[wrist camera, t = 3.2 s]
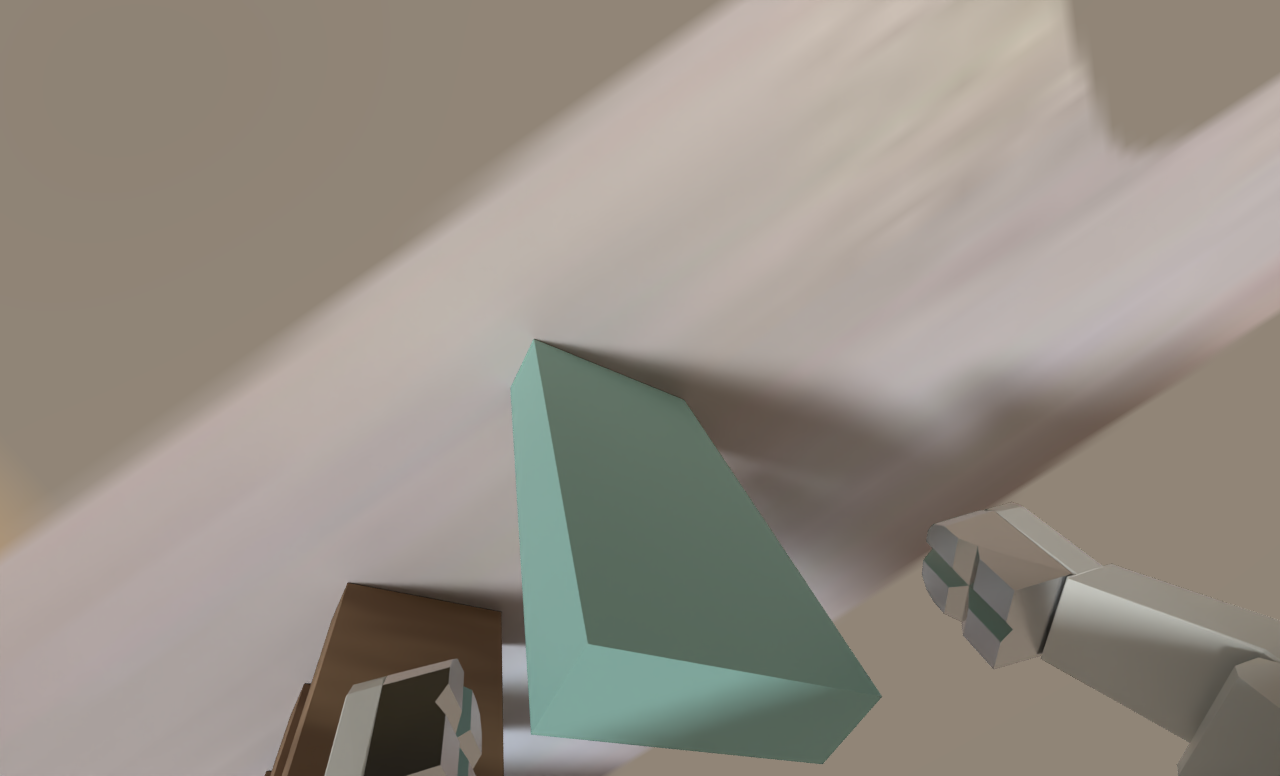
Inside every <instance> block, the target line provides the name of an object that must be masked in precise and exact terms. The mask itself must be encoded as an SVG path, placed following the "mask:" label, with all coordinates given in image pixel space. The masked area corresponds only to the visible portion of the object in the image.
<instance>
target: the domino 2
mask: <svg viewBox="0 0 1280 776" xmlns="http://www.w3.org/2000/svg"><path fill="white" fill-rule="evenodd" d="M511 405H512V422H513V438H514V455H515V472H516V489H517V506H518V522H519V539H520V556H521V573H522V590H523V606H524V623H525V640H526V657H527V674H528V690H529V707H530V724H531V734H532V735H542V736H551V737H561V738H571V739H581V740H591V741H600V742H610V743H620V744H630V745H640V746H649V747H659V748H669V749H679V750H690V751H699V752H708V753H718V754H728V755H738V756H748V757H758V758H767V759H777V760H787V761H797V762H806V763H816V764H823V763H824V762H825V761H826V760H827V759H828V757H829V756H830V755H831V754H832V753H833V752H834V751H835V749H836V748H837V747H838V746H839V745H840V744H841V743H842V742H843V740H844V739H845V738H846V737H847V736H848V735H849V734H850V733H851V731H852V730H853V729H854V728H855V727H856V726H857V724H858V723H859V722H860V721H861V720H862V719H863V717H865V715H866V714H867V713H868V712H869V711H870V710H871V708H873V706H874V705H875V704H876V703H877V702H878V701H879V700H880V698H881V697H882V696H881V695H880V693H879V691H878V690H877V688H876V687H875V685H874V684H873V682H872V681H871V679H870V678H869V676H868V675H867V673H866V672H865V670H864V669H863V667H862V666H861V664H860V663H859V661H858V660H857V658H856V657H855V655H854V654H853V652H852V651H851V649H850V648H849V646H848V645H847V644H846V642H845V640H844V639H843V637H842V636H841V634H840V633H839V632H838V630H837V628H836V627H835V625H834V624H833V622H832V621H831V619H830V618H829V616H828V615H827V613H826V612H825V610H824V609H823V607H822V606H821V604H820V603H819V601H818V600H817V598H816V597H815V595H814V594H813V592H812V591H811V589H810V588H809V586H808V585H807V583H806V582H805V580H804V579H803V577H802V576H801V574H800V573H799V571H798V570H797V568H796V567H795V565H794V564H793V562H792V561H791V559H790V558H789V556H788V555H787V553H786V552H785V550H784V549H783V547H782V546H781V544H780V543H779V541H778V540H777V538H776V537H775V535H774V534H773V532H772V531H771V529H770V528H769V526H768V525H767V523H766V522H765V520H764V519H763V517H762V516H761V514H760V513H759V511H758V510H757V508H756V507H755V505H754V504H753V502H752V501H751V499H750V498H749V496H748V495H747V493H746V492H745V490H744V489H743V487H742V486H741V484H740V483H739V481H738V480H737V478H736V477H735V475H734V474H733V472H732V471H731V469H730V468H729V467H728V465H727V464H726V462H725V461H724V459H723V458H722V456H721V455H720V453H719V452H718V450H717V449H716V447H715V446H714V444H713V443H712V441H711V440H710V438H709V437H708V435H707V434H706V432H705V431H704V429H703V428H702V426H701V425H700V423H699V422H698V420H697V419H696V417H695V416H694V414H693V413H692V411H691V410H690V408H689V407H688V405H687V404H686V402H685V401H684V400H683V399H681V398H678V397H676V396H673V395H671V394H668V393H666V392H663V391H661V390H658V389H656V388H653V387H651V386H648V385H646V384H644V383H641V382H639V381H636V380H634V379H631V378H629V377H626V376H624V375H621V374H619V373H616V372H614V371H611V370H609V369H607V368H604V367H602V366H599V365H597V364H594V363H592V362H589V361H587V360H584V359H582V358H579V357H577V356H574V355H572V354H570V353H567V352H565V351H562V350H560V349H557V348H555V347H552V346H550V345H547V344H545V343H542V342H540V341H537V340H535V339H534V340H533V342H532V344H531V346H530V348H529V350H528V352H527V354H526V357H525V359H524V361H523V363H522V365H521V367H520V369H519V371H518V373H517V375H516V377H515V380H514V382H513V384H512V386H511Z"/></svg>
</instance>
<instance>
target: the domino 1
mask: <svg viewBox="0 0 1280 776" xmlns="http://www.w3.org/2000/svg"><path fill="white" fill-rule="evenodd" d="M451 659H458V661H459V663H460V665H461V667H462V669H463V671H464V684H463V686H464V687H466V688H469V689H471V690H472V691H473V693H474V696H475V698H476V701H477V705H478V709H479V713H480V721H481V731H482V755H481V756H480V758H479V760H478V761H477V763H476V765H475V766H474V768H473V771H474V773H475V775H476V776H504V762H503V695H502V628H501V612H498V611H493V610H488V609H483V608H477V607H472V606H467V605H462V604H456V603H451V602H446V601H441V600H435V599H430V598H425V597H420V596H414V595H409V594H404V593H399V592H393V591H388V590H383V589H378V588H372V587H367V586H362V585H357V584H351V583H347V586H346V588H345V590H344V593H343V595H342V597H341V600H340V602H339V604H338V607H337V609H336V611H335V613H334V616H333V618H332V621H331V624H330V627H329V630H328V633H327V636H326V639H325V643H324V646H323V649H322V652H321V655H320V658H319V661H318V664H317V667H316V671H315V674H314V677H313V680H312V683H311V686H310V689H309V692H308V696H307V699H306V702H305V705H304V708H303V711H302V714H301V717H300V720H299V724H298V727H297V730H296V733H295V736H294V739H293V742H292V745H291V748H290V752H289V755H288V758H287V761H286V764H285V767H284V770H283V773H282V776H325V772H326V768H327V764H328V761H329V757H330V753H331V750H332V746H333V742H334V738H335V735H336V731H337V727H338V724H339V720H340V716H341V712H342V709H343V705H344V701H345V698H346V696H347V694H348V693H349V691H350V689H351V688H352V686H353V685H354V684H358V683H362V682H366V681H370V680H373V679H377V678H381V677H385V676H388V675H392V674H396V673H400V672H404V671H408V670H412V669H416V668H420V667H424V666H428V665H432V664H435V663H439V662H443V661H447V660H451Z"/></svg>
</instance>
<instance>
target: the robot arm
mask: <svg viewBox="0 0 1280 776" xmlns="http://www.w3.org/2000/svg"><path fill="white" fill-rule="evenodd" d="M926 542H927V543H928V544H929V545H930V546H931V547H932V550H931V551H930V552H929V554H928V555H927V556H926V557H925V559H924V560H923V569H922V576H923V579H924V583H925V586H926V589H927V591H928V593H929V594H930V596H931V598H932V600H933V601H934V603H935V604H936V605H937V606H938V607H939V608H940V610H941V611H942V612H943V613H944V614H946V615H948V616H950V617H952V618H955V619H957V620H959V621H961V622H962V629H963V636H964V637H965V638H966V639H967V640H968V641H969V642H970V644H971V645H972V646H973V647H974V648H975V649H976V650H977V651H978V652H979V653H980V655H981V656H982V657H983V658H984V659H985V660H986V661H987V663H988V664H989V665H990V666H991V667H992V668H993V669H996V668H1000V667H1003V666H1007V665H1010V664H1013V663H1017V662H1020V661H1024V660H1028V659H1031V658H1034V657H1038V656H1041V659H1042V660H1044V661H1045V662H1047V663H1049V664H1051V665H1053V666H1054V667H1056V668H1058V669H1060V670H1062V671H1063V672H1065V673H1067V674H1069V675H1070V676H1072V677H1074V678H1076V679H1077V680H1079V681H1081V682H1083V683H1085V684H1086V685H1088V686H1090V687H1092V688H1093V689H1095V690H1097V691H1099V692H1101V693H1103V694H1104V695H1106V696H1108V697H1109V698H1111V699H1113V700H1115V701H1117V702H1118V703H1120V704H1122V705H1124V706H1126V707H1127V708H1129V709H1131V710H1133V711H1134V712H1136V713H1138V714H1140V715H1142V716H1143V717H1145V718H1147V719H1148V720H1150V721H1152V722H1154V723H1156V724H1157V725H1159V726H1161V727H1163V728H1165V729H1166V730H1168V731H1170V732H1172V733H1173V734H1175V735H1177V736H1179V737H1181V738H1182V739H1184V740H1186V741H1188V742H1189V743H1190V744H1189V745H1188V747H1187V749H1186V751H1185V752H1184V754H1183V756H1182V757H1181V759H1180V761H1179V763H1178V764H1177V767H1178V776H1280V620H1277V619H1274V618H1271V617H1268V616H1265V615H1262V614H1259V613H1256V612H1253V611H1250V610H1247V609H1244V608H1241V607H1238V606H1235V605H1232V604H1229V603H1226V602H1223V601H1220V600H1217V599H1214V598H1212V597H1209V596H1206V595H1203V594H1200V593H1197V592H1194V591H1191V590H1188V589H1185V588H1182V587H1179V586H1176V585H1173V584H1170V583H1167V582H1164V581H1161V580H1158V579H1155V578H1153V577H1149V576H1147V575H1144V574H1140V573H1138V572H1135V571H1132V570H1129V569H1126V568H1123V567H1120V566H1117V565H1114V564H1108V565H1104V566H1103V565H1101V564H1100V563H1099V562H1098V561H1096V560H1095V559H1094V558H1092V557H1091V556H1089V555H1088V554H1087V553H1085V552H1084V551H1083V550H1081V549H1080V548H1079V547H1077V546H1076V545H1075V544H1073V543H1072V542H1071V541H1069V540H1068V539H1067V538H1065V537H1064V536H1063V535H1061V534H1060V533H1059V532H1057V531H1056V530H1055V529H1053V528H1052V527H1051V526H1049V525H1048V524H1047V523H1045V522H1044V521H1043V520H1041V519H1040V518H1039V517H1037V516H1036V515H1035V514H1033V513H1032V512H1031V511H1029V510H1028V509H1027V508H1025V507H1024V506H1022V505H1020V504H1017V503H1014V502H1010V503H1006V504H1003V505H999V506H995V507H992V508H988V509H985V510H979V511H976V512H972V513H969V514H966V515H962V516H959V517H956V518H952V519H949V520H945V521H942V522H939V523H935V524H933V525H932V526H931V527H930V529H929V530H928V534H927V539H926ZM463 684H464V671H463V669H462V667H461V665H460V663H459V661H458V659H451V660H447V661H443V662H439V663H435V664H432V665H428V666H424V667H420V668H416V669H412V670H408V671H404V672H400V673H396V674H392V675H388V676H385V677H381V678H377V679H373V680H370V681H366V682H362V683H358V684H354V685H353V686H352V688H351V689H350V691H349V693H348V694H347V696H346V698H345V701H344V705H343V709H342V712H341V716H340V720H339V724H338V727H337V731H336V735H335V738H334V742H333V746H332V750H331V753H330V757H329V761H328V764H327V768H326V772H325V776H476V775H475V773H474V771H473V768H474V766H475V765H476V763H477V761H478V760H479V758H480V756H481V755H482V731H481V721H480V713H479V709H478V705H477V701H476V698H475V696H474V693H473V691H472V690H471V689H469V688H466V687H464V686H463Z"/></svg>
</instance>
